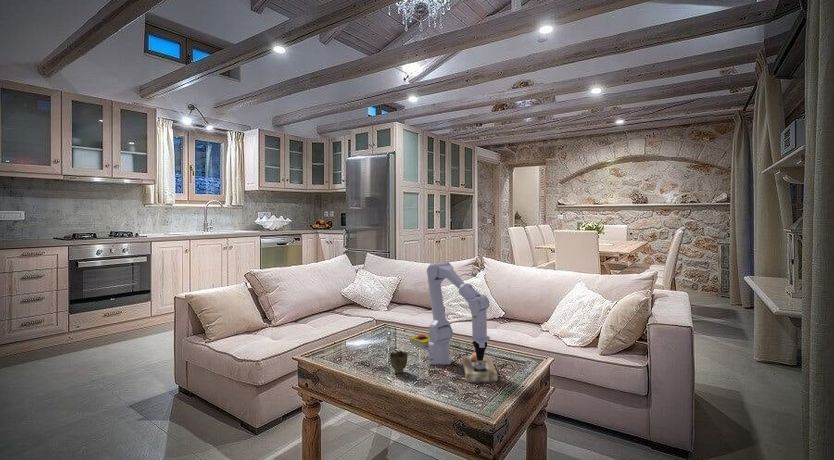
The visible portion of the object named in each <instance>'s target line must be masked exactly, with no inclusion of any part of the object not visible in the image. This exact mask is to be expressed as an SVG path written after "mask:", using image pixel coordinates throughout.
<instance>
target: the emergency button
mask: <svg viewBox="0 0 834 460" xmlns="http://www.w3.org/2000/svg"><path fill="white" fill-rule="evenodd" d="M409 341H410V342H409ZM409 341H407V343H408V344H410V343H411V345H413V344H414V346H417V347H419V348H422V349H424V350H429V342H432V341H431V340H430V338H429V335H426V334H422V333H421V334H418V335H414V336H410V337H409Z"/></svg>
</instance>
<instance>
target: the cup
mask: <svg viewBox="0 0 834 460" xmlns="http://www.w3.org/2000/svg"><path fill="white" fill-rule="evenodd" d="M389 358H390V366H391V368H392V369H393V370H394V373H395V372H396V373H395V374H397V373H401V374H402V372H403V373H404V371H405V368H406V367H407V364H408V352H407V351H405V350H404V351H403V350H396V352H394V351H391V352H389Z"/></svg>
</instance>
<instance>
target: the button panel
mask: <svg viewBox="0 0 834 460" xmlns="http://www.w3.org/2000/svg"><path fill="white" fill-rule="evenodd" d="M482 361H484V362H485V363H486V371H485V372H476V371H475V362H472V355H462V356H461V363H462V367H463V373H464V376H465V377H464V378H465V380H466V382H467V383H470V382H471V383H472V382H475V383H477V382H478V383H479V382H480V383H481V382H483V383H484V382H485V383H486V382H498V381H499V380H498V371H497V370H496V368H495V365H494V363H493V361H492V359H491V356H490V355H484V358H483V360H482Z"/></svg>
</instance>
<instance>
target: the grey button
mask: <svg viewBox="0 0 834 460" xmlns="http://www.w3.org/2000/svg"><path fill="white" fill-rule="evenodd" d="M475 371H476V372H485V371H486V363H485V362H484V361H476V362H475Z"/></svg>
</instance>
